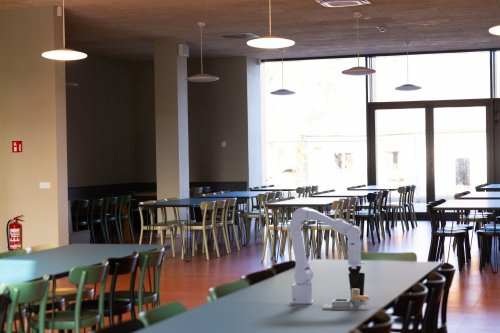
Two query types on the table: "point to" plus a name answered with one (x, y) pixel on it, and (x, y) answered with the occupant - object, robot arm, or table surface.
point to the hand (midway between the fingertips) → (355, 282)
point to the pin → (360, 297)
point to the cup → (357, 284)
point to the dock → (342, 304)
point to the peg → (355, 294)
